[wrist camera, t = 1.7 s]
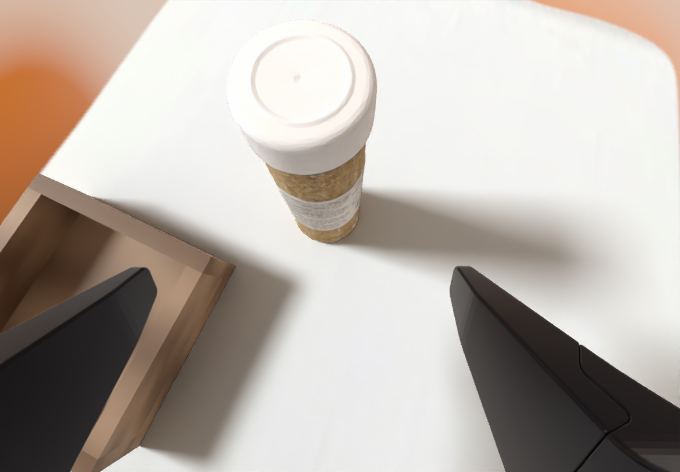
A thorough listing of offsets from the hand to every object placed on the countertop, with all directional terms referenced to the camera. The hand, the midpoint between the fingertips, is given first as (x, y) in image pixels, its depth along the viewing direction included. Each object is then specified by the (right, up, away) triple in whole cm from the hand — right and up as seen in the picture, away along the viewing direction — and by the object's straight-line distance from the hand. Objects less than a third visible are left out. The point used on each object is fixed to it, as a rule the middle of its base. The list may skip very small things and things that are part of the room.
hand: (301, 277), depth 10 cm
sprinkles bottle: (0, +3, +13) cm, 13 cm away
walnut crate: (-14, -4, +12) cm, 19 cm away
